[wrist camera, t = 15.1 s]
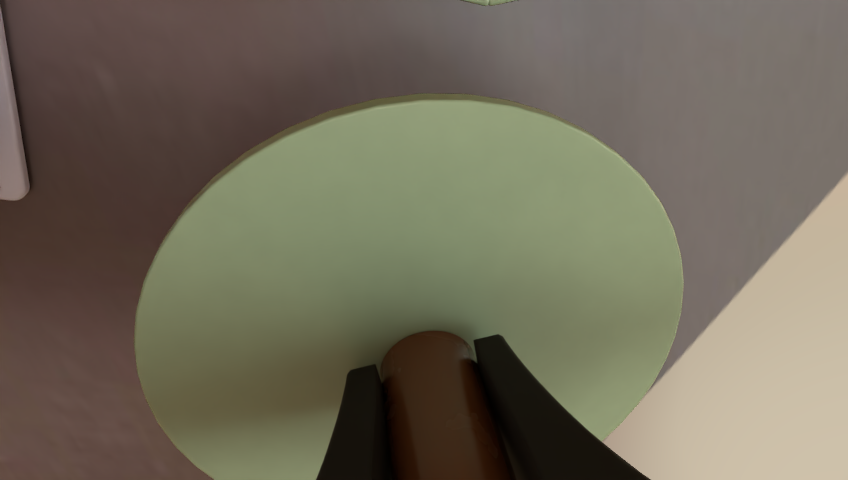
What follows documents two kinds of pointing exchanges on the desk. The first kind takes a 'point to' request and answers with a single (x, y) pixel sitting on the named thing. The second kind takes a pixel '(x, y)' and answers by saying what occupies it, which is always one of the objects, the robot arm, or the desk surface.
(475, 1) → the pot
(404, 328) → the lid
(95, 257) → the desk surface
